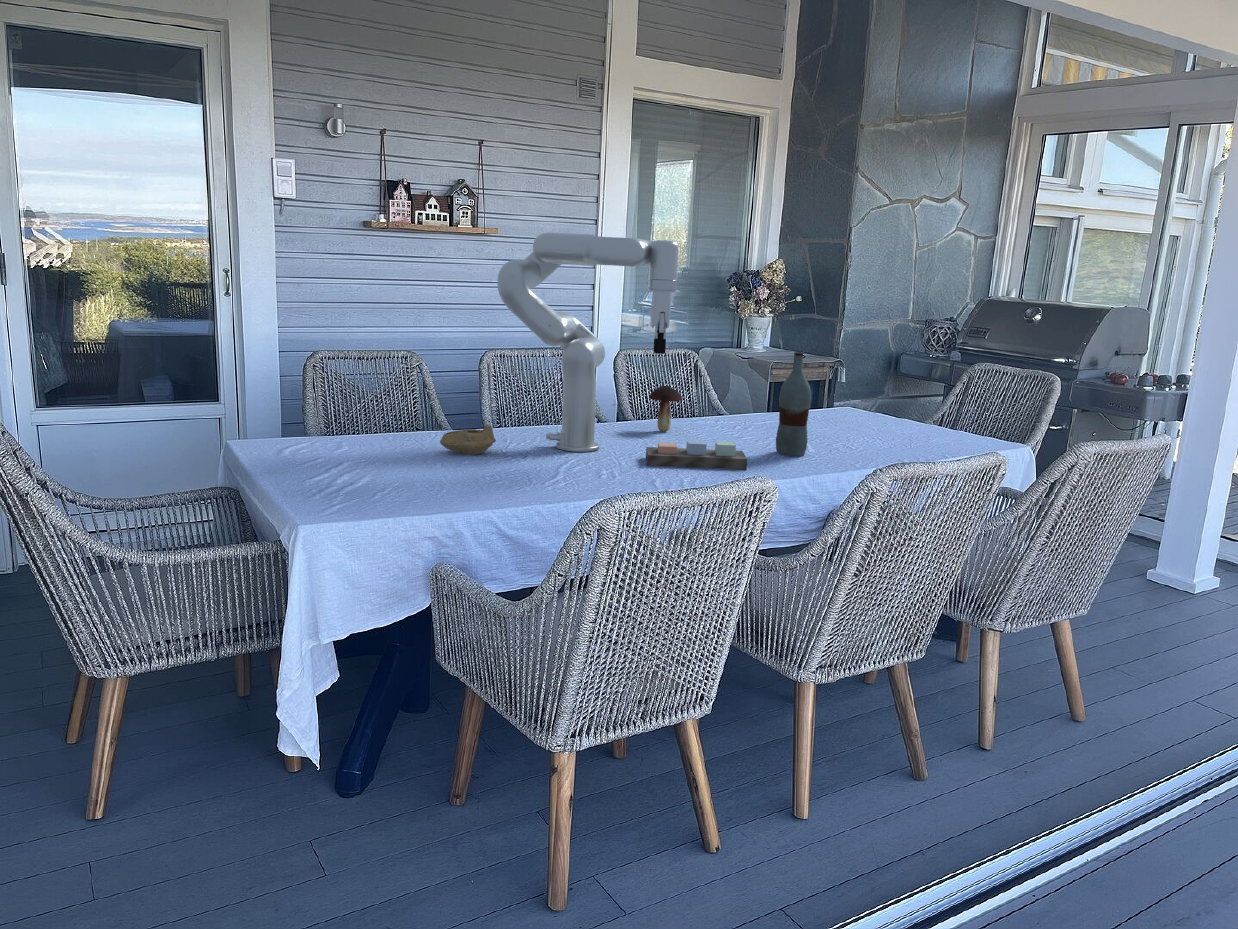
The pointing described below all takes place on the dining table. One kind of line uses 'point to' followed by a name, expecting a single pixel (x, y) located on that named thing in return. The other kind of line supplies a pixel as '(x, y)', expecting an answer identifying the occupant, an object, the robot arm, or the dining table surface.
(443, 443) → the oil lamp
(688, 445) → the slate button
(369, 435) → the dining table surface
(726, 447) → the sage button
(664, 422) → the decorative mushroom
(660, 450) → the terracotta button
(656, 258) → the robot arm
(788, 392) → the bottle
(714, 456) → the console
